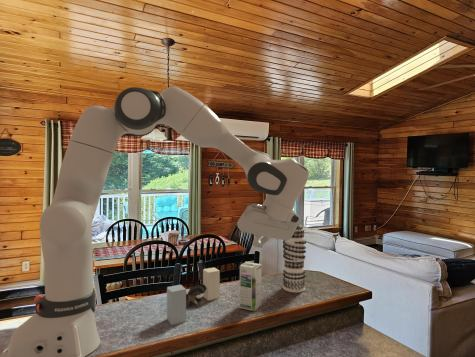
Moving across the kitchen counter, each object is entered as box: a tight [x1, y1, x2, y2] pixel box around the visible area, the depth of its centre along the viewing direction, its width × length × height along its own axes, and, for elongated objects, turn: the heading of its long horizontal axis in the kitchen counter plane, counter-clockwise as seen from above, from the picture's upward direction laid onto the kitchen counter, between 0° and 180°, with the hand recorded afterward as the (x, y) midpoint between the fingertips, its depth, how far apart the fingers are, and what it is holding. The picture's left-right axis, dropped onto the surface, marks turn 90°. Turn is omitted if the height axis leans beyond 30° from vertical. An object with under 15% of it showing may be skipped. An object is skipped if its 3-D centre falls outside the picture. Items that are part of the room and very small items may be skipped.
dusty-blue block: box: [166, 284, 187, 326], centre depth 99 cm, size 4×4×10 cm
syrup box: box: [239, 261, 262, 312], centre depth 108 cm, size 6×6×14 cm
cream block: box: [202, 267, 221, 301], centre depth 117 cm, size 4×4×10 cm
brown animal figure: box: [186, 283, 207, 308], centre depth 111 cm, size 8×7×9 cm
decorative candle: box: [282, 223, 307, 293], centre depth 125 cm, size 9×9×25 cm
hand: (256, 246), depth 102 cm, fingers closed
